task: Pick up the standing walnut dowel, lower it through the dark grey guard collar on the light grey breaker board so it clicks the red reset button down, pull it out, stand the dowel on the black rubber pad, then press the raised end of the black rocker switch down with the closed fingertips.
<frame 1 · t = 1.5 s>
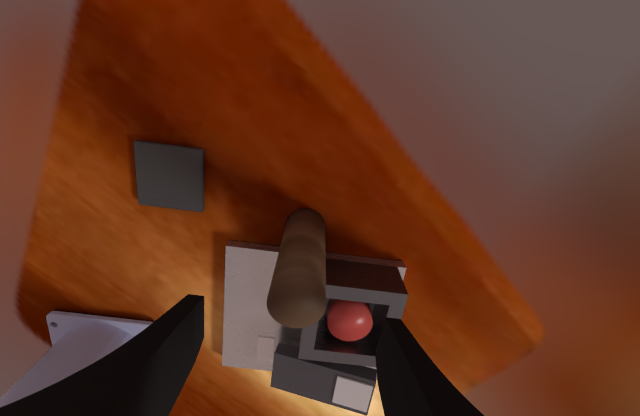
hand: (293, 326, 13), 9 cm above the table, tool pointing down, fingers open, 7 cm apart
dowel: (305, 226, 22), on the table
pad: (171, 176, 21), on the table
rocker: (322, 378, 23), point 3 cm above the table, hinge at -12.0°
panel: (308, 312, 24), on the table
reset button: (349, 315, 21), point 3 cm above the table, slide at 0.0 cm
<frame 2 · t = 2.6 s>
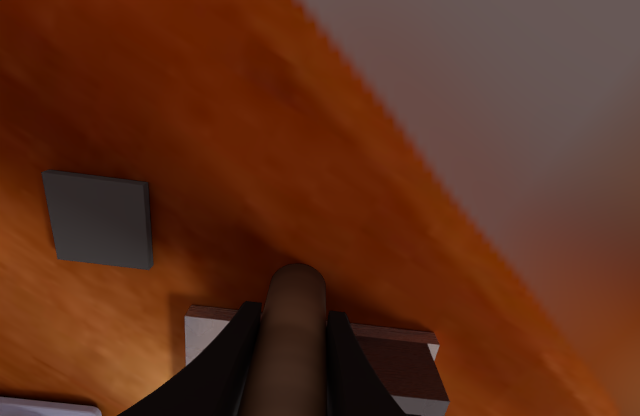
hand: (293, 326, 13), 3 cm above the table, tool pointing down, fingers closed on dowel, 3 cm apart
dowel: (297, 287, 15), on the table, touching gripper
pad: (104, 220, 14), on the table
panel: (302, 395, 18), on the table
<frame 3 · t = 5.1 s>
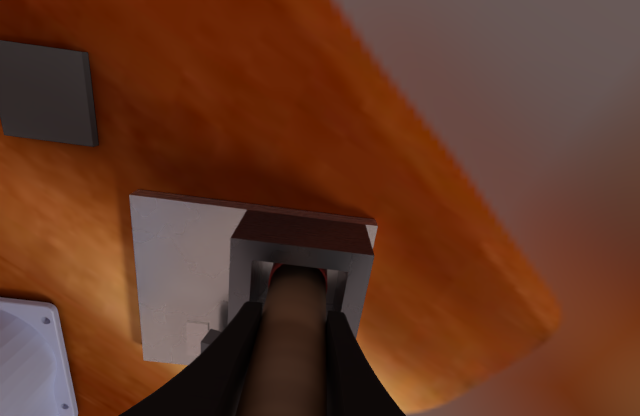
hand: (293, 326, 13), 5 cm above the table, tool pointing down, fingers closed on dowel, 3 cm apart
dowel: (298, 284, 16), point 2 cm above the table, touching gripper, reset button
pad: (48, 94, 15), on the table
rocker: (266, 377, 17), point 3 cm above the table, hinge at -12.0°
panel: (252, 290, 19), on the table
reset button: (298, 277, 16), point 2 cm above the table, slide at 1.0 cm, touching dowel
when the fingers open (4 cm above the table, at t = 8.4 s): dowel stays where it is, resting on pad.
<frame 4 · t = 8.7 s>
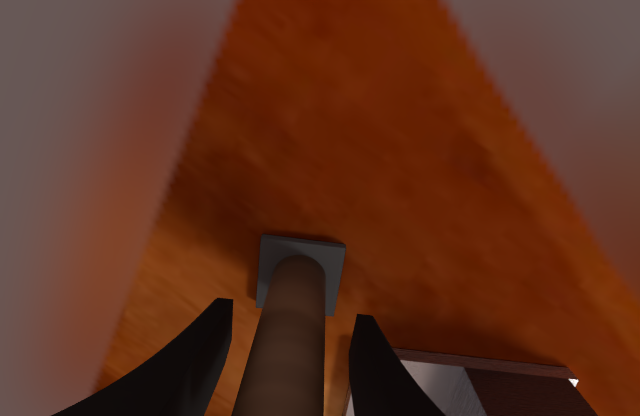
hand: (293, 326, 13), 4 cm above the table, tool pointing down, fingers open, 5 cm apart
dowel: (299, 278, 16), resting on pad
pad: (299, 274, 16), on the table
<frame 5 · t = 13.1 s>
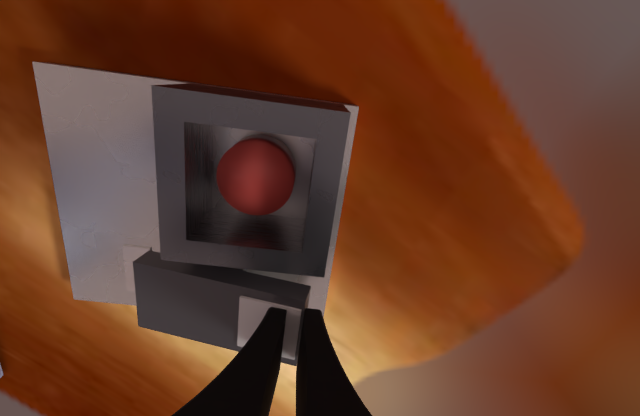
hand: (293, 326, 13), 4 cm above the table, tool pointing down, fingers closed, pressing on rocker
rocker: (220, 307, 13), point 3 cm above the table, hinge at -10.8°, touching gripper
panel: (206, 207, 15), on the table
reset button: (258, 174, 13), point 2 cm above the table, slide at 1.0 cm
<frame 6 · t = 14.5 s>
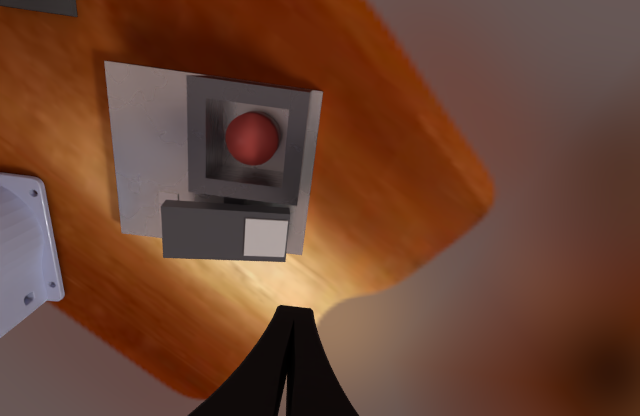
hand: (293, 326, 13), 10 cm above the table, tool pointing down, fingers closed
rocker: (227, 232, 19), point 3 cm above the table, hinge at 9.3°
panel: (217, 165, 21), on the table
reset button: (254, 137, 18), point 2 cm above the table, slide at 1.0 cm
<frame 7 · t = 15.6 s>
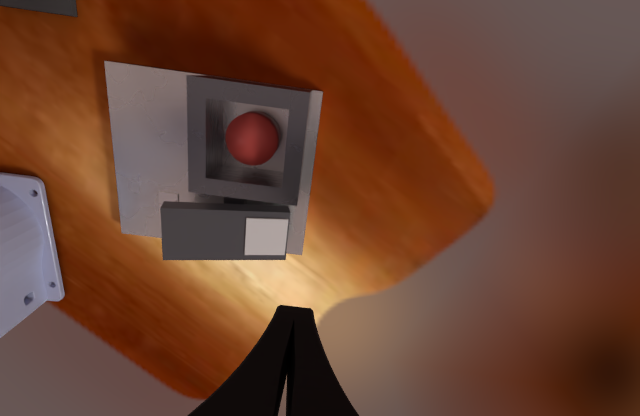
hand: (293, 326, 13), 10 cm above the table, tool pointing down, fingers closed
rocker: (227, 232, 19), point 3 cm above the table, hinge at 13.4°
panel: (217, 165, 21), on the table
reset button: (254, 137, 18), point 2 cm above the table, slide at 1.0 cm
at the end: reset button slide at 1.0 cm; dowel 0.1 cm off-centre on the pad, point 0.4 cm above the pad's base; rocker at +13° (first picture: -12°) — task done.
